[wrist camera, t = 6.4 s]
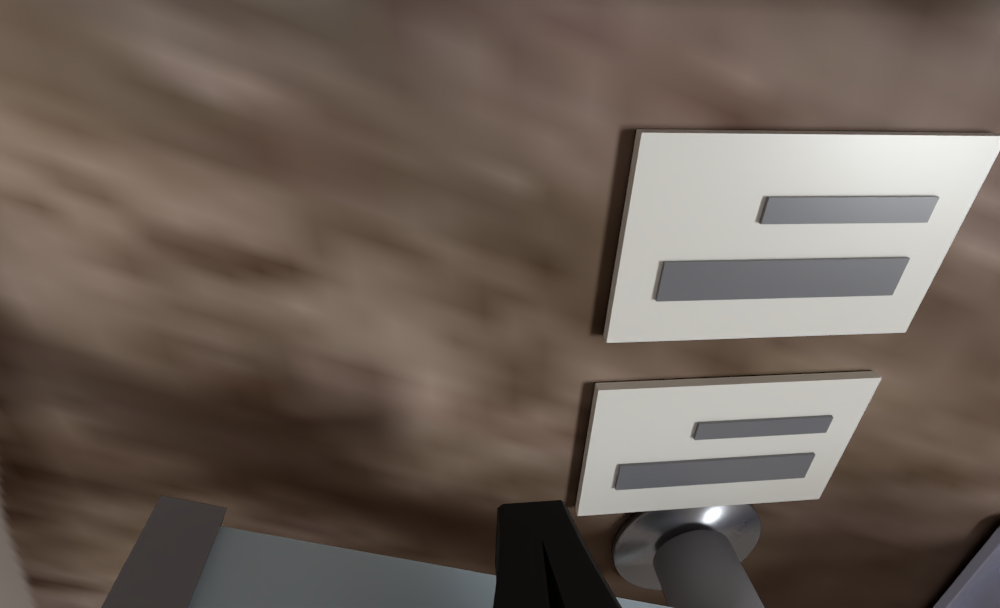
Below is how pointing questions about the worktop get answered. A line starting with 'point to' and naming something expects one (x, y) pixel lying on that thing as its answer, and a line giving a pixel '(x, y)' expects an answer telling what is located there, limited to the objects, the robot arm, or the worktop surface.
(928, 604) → the worktop surface
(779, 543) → the worktop surface
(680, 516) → the pivot base
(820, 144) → the psu label
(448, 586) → the bar
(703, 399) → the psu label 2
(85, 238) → the worktop surface
